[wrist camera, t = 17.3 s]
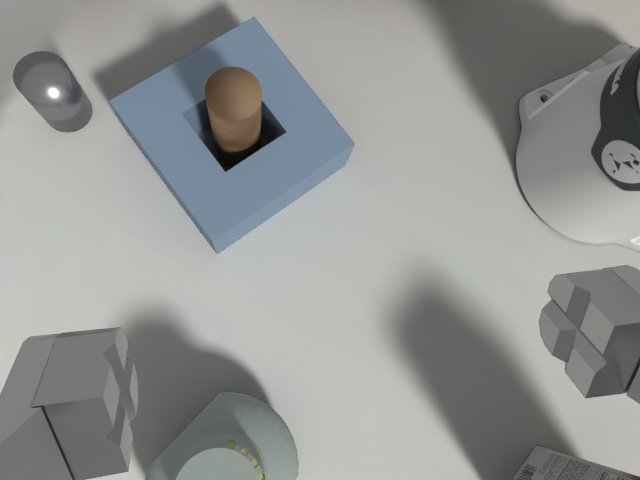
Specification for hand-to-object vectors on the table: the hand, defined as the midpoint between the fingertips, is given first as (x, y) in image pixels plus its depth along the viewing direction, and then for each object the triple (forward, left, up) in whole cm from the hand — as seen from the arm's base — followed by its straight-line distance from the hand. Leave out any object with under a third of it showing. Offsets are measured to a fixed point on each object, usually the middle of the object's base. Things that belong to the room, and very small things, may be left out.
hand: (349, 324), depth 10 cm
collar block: (-8, -16, -34) cm, 39 cm away
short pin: (+2, -27, -34) cm, 44 cm away
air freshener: (+8, +5, -35) cm, 36 cm away
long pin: (-8, -16, -34) cm, 39 cm away
